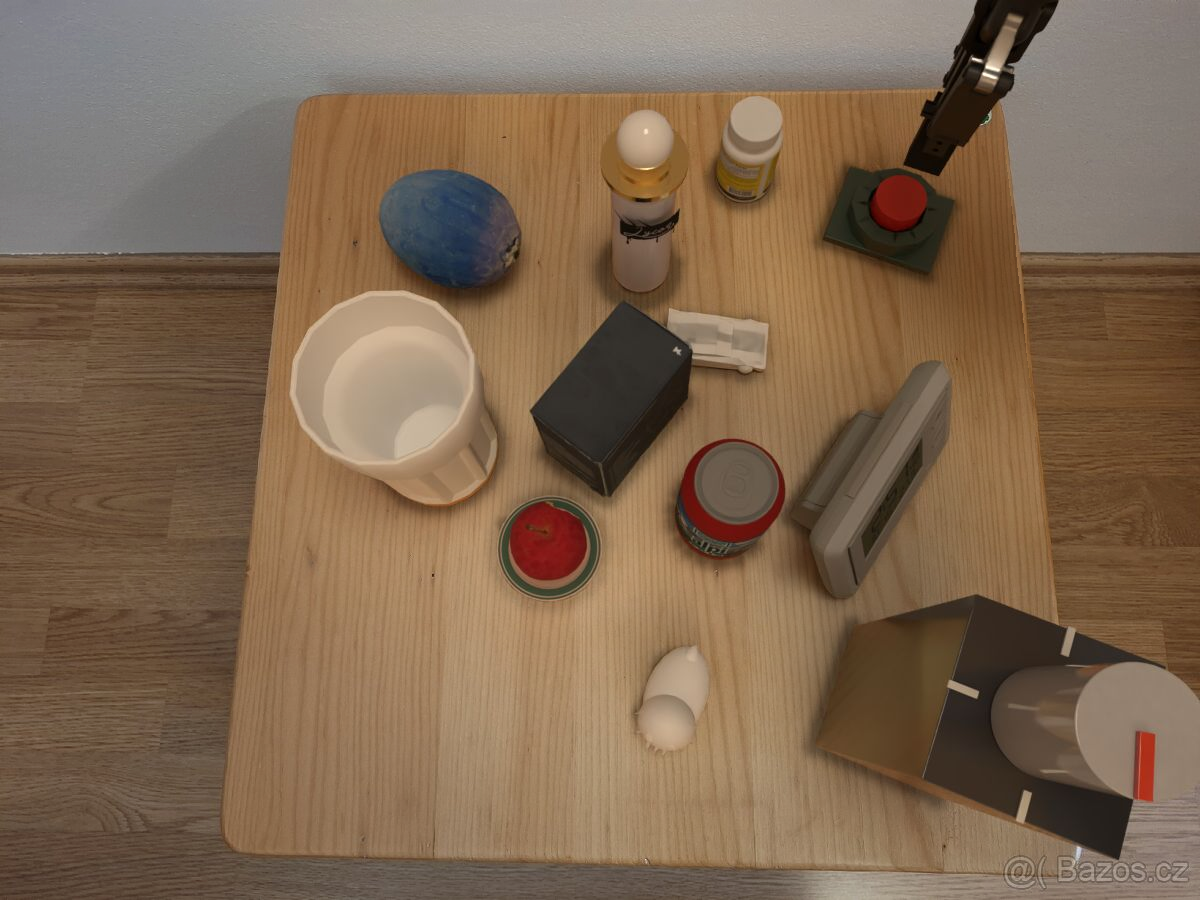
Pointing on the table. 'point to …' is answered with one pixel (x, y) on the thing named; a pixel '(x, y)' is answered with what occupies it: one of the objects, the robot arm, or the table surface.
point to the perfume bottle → (643, 196)
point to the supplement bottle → (749, 149)
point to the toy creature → (674, 699)
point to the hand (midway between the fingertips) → (923, 162)
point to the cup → (397, 396)
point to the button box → (897, 247)
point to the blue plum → (450, 228)
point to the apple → (549, 548)
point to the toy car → (722, 340)
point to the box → (614, 397)
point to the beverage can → (728, 498)
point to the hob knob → (1102, 728)
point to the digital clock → (874, 477)
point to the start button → (898, 203)
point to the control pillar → (964, 713)
